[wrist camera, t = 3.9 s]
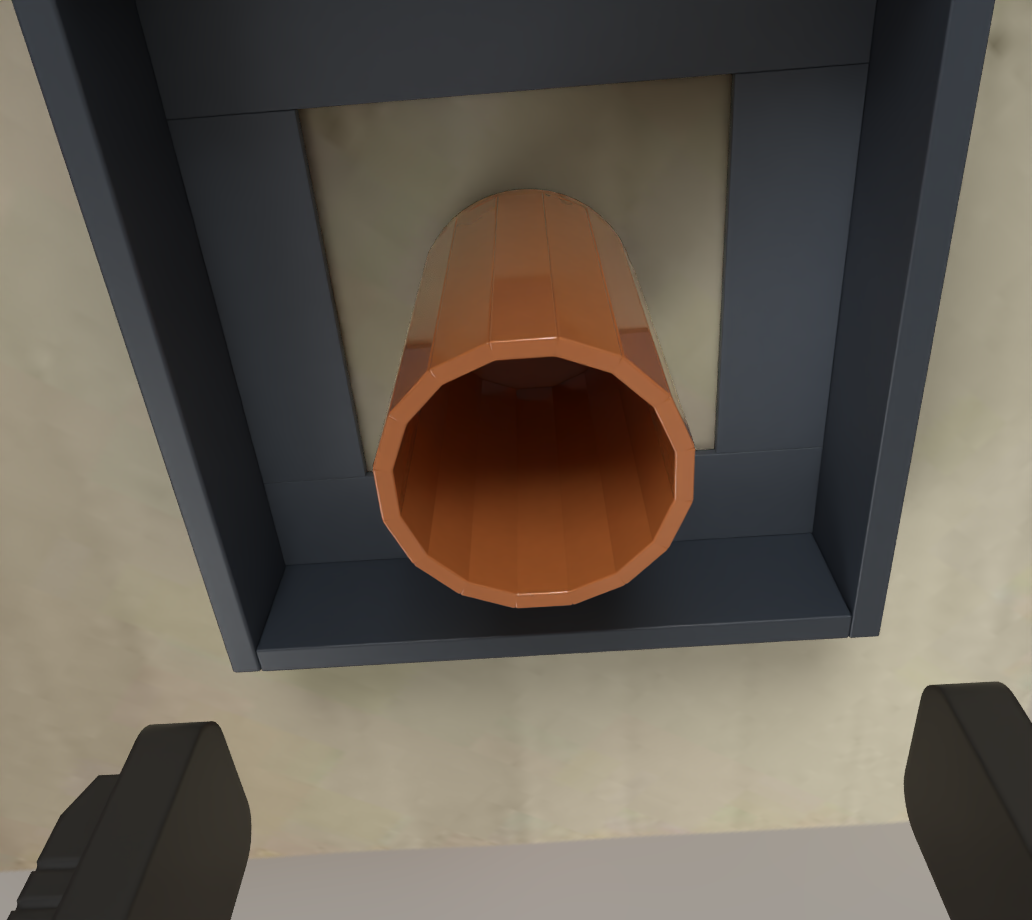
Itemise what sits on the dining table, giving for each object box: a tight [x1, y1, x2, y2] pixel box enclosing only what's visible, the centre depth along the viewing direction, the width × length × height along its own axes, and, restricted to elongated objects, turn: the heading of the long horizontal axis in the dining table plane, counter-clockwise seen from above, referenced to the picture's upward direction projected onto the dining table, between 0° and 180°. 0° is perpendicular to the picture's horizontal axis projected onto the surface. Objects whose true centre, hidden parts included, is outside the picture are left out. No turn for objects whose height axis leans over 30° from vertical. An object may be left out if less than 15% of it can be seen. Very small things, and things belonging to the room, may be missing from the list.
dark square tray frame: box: [12, 0, 995, 672], centre depth 21 cm, size 18×18×4 cm
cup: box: [373, 189, 695, 608], centre depth 19 cm, size 6×6×9 cm
